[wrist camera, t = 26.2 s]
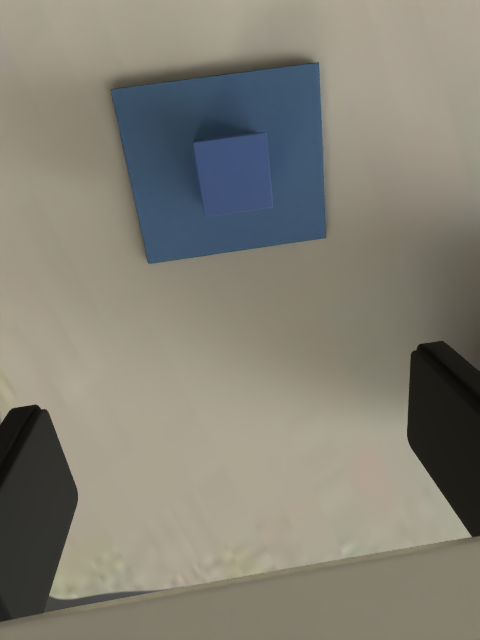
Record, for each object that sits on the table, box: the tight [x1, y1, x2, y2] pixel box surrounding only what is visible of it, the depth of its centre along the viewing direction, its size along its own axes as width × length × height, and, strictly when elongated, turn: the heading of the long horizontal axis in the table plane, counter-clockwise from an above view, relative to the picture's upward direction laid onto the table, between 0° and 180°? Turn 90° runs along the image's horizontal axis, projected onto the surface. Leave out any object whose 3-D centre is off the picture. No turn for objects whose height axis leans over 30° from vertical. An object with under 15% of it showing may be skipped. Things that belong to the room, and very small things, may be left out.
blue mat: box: [111, 62, 326, 264], centre depth 31 cm, size 14×12×1 cm
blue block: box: [193, 132, 273, 217], centre depth 29 cm, size 4×4×4 cm
